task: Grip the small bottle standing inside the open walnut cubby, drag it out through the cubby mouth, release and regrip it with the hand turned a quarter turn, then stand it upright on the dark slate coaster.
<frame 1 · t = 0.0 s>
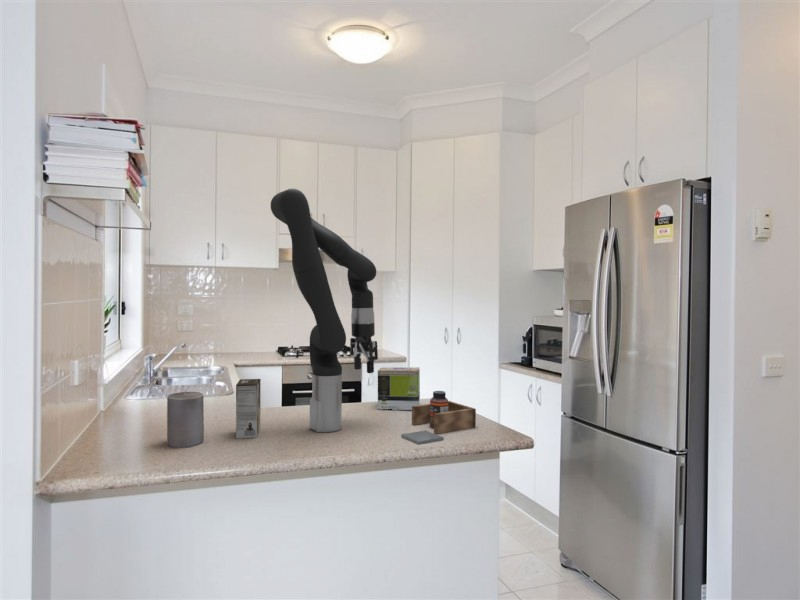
hand: (363, 371, 179), 17 cm above the countertop, tool pointing down, fingers open, 8 cm apart
supplement bottle: (438, 427, 176), on the countertop
pillar candle: (185, 443, 154), on the countertop
coffee box: (248, 434, 164), on the countertop
slate coaster: (422, 438, 162), on the countertop
walnut cubby: (441, 426, 176), on the countertop
tea box: (398, 408, 203), on the countertop
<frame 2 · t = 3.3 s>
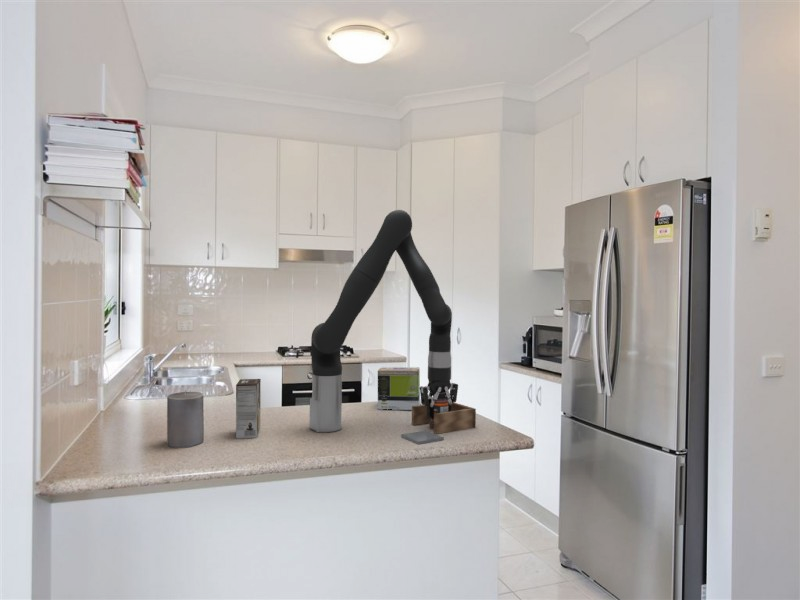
hand: (438, 416, 176), 3 cm above the countertop, tool pointing down, fingers closed on supplement bottle, 6 cm apart
supplement bottle: (438, 427, 176), on the countertop, touching gripper
everything else where it was.
when the fingers open (4 cm above the countertop, at t = 6.9 s): supplement bottle stays where it is, on the countertop.
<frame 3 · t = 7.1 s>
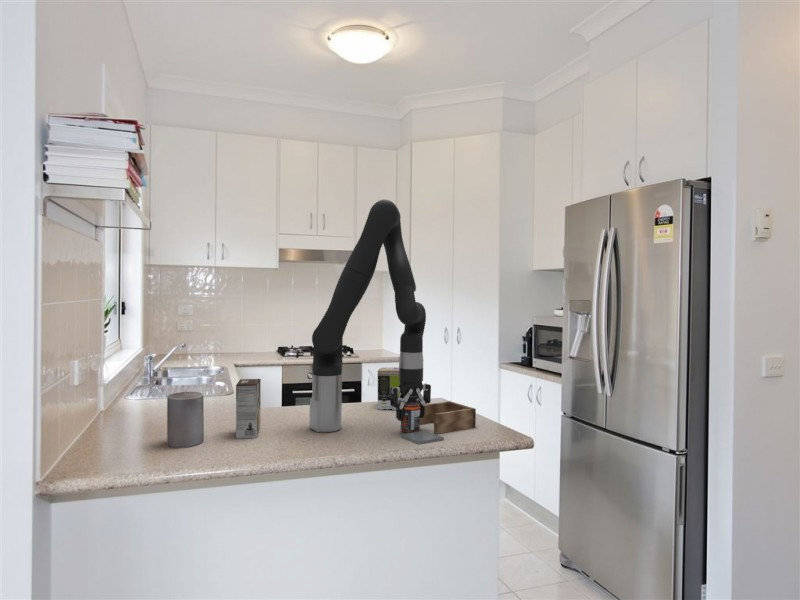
hand: (410, 418, 170), 4 cm above the countertop, tool pointing down, fingers open, 7 cm apart
supplement bottle: (410, 431, 170), on the countertop
everything else where it was.
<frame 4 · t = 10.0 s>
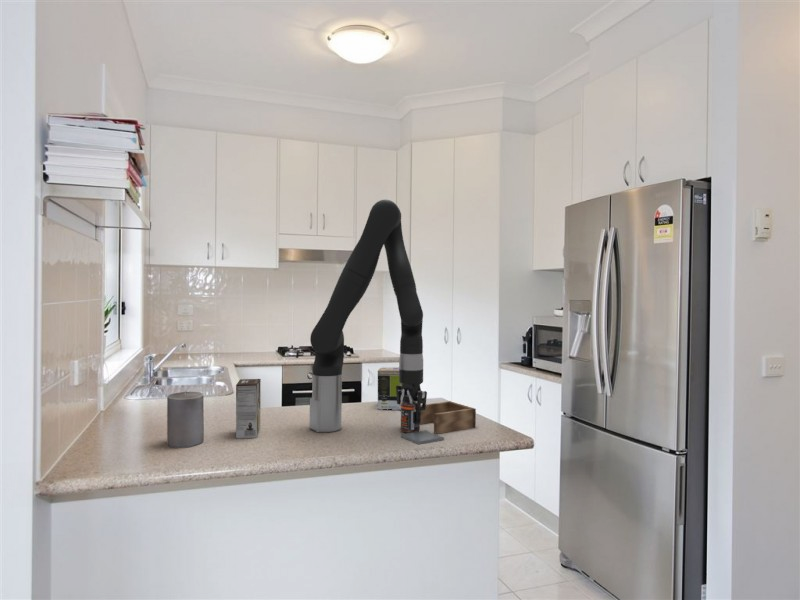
hand: (410, 421, 170), 3 cm above the countertop, tool pointing down, fingers closed on supplement bottle, 6 cm apart
supplement bottle: (410, 431, 170), on the countertop, touching gripper
everything else where it was.
when the fingers open (5 cm above the countertop, at t = 15.0 s): supplement bottle stays where it is, resting on slate coaster.
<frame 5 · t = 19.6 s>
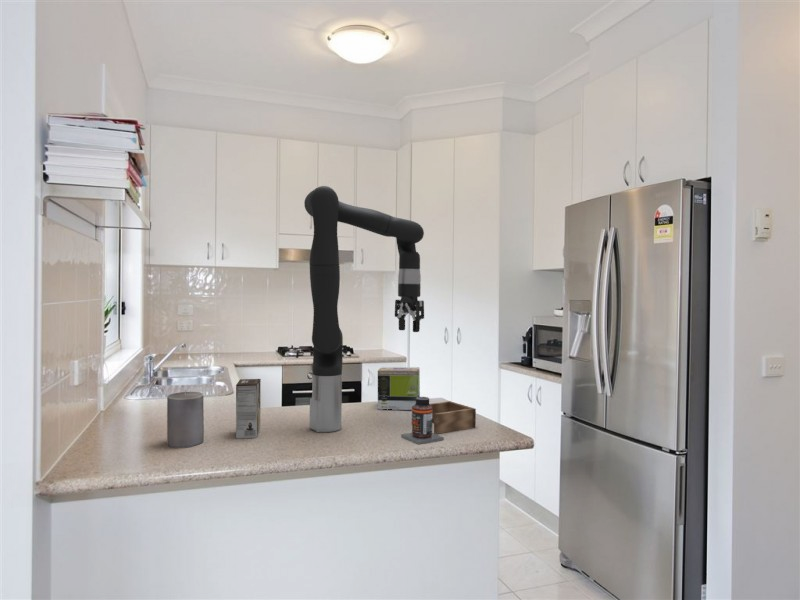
hand: (408, 331, 183), 30 cm above the countertop, tool pointing down, fingers open, 8 cm apart
supplement bottle: (422, 436, 161), point 1 cm above the countertop, touching slate coaster
everything else where it was.
at the end: supplement bottle inside the target area on the slate coaster (0.1 cm from its centre), point 0.6 cm above the slate coaster's base; supplement bottle tilted 0°; the gripper is holding nothing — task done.
